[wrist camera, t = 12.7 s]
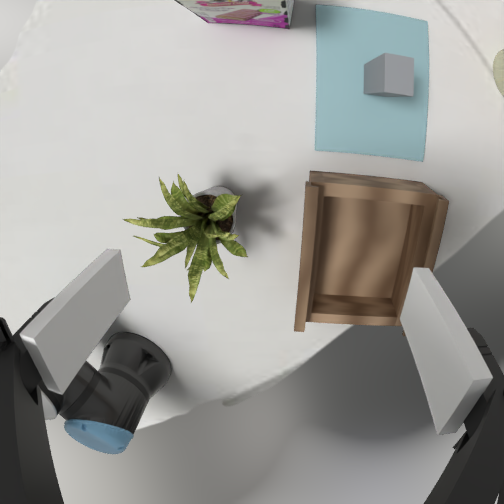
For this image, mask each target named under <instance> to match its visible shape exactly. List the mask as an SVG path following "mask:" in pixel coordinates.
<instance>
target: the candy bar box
mask: <svg viewBox="0 0 504 504" xmlns="http://www.w3.org/2000/svg"><path fill="white" fill-rule="evenodd" d="M175 1H177V2H178V3H179V4H181V5H182V6H184V7H186V8H187V9H189V10H190V11H191V12H193V13H195V14H196V15H197V16H199V17H200V18H202V19H203V20H204V21H206V22H207V23H236V24H250V25H261V26H270V27H279V28H287V29H289V27H290V22H291V16H292V11H293V5H294V0H175Z"/></svg>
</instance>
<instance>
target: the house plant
mask: <svg viewBox="0 0 504 504" xmlns="http://www.w3.org/2000/svg"><path fill="white" fill-rule="evenodd" d="M159 181H160V185H161V190H162V193H163V195H164V198H165V200H166V202H167V204H168V205H169V206H170V208H171V209H172V210H173V211H174V212H175V213H176V214H177V215H180V217H175V216H163V217H160V218H158V219H145V218H139V219H140V220H136V219H123V220H125V221H127V222H129V223H132V224H135V225H138V226H143V227H150V228H160V229H164V230H168V229H173V228H178V227H184V229H185V231H181V232H175V233H156V234H154V236H155V238H156V239H157V241H159V242H161V243H167V244H160V243H157V242H153V241H150V240H147V239H144V238H141V237H137V236H134V237H137V238H139V239H142V240H144V241H146V242H148V243H150V244H153V245H156V246H159V247H160V248H159V249H158V251H157V252H156V253H155V255H154V256H153V257H151V258H150V259H149V260H147V261H146V262H145V264H144V265H143V266H141V267H147V266H152V265H155V264H157V263H160V262H162V261H164V260H166V259H168V258H170V257H171V256H173V255H175V254H177V253H179V252H181V251H183V250H184V249H185V248H186V247H187V255H186V259H185V268H186V267H187V264H188V262H189V260H190V258H191V256H192V254H193V252H194V249H195V247H196V245H197V248H196V251H195V254H194V256H193V259H192V262H191V266H190V267H189V268H188V269H187V270H189V273H188V279H189V285H190V287H189V296H190V298H191V302H192V301H193V299H194V296H195V293H196V291H197V287H198V284H199V281H200V277H201V274H202V271H203V269H204V272H205V271H206V270H207V269H209V268H210V266H211V262H212V261H213V263H214V265H215V267H216V268H217V270H218V271H219V272H220V273H221V274H222V275H223V276H225V277H226V278H228V275H227V273H226V272H225V270H224V267H223V263H222V261H221V259H220V257H219V254H218V251H217V244H219V243H222V244H223V245H224V246H225V247H226V249H227V250H228V251H229V252H231V253H232V254H233V255H236V256H241V257H248V256H247V254H246V250H245V249H244V248H243V246H241V245H240V244H239V243H238V242H236V241H234V239H235V238H236V237H238V236H239V235H236V234H232V233H233V231H234V228H235V224H236V211H237V202H238V200H239V198H240V196H241V195H240V196H238V195H237V196H238V197H237V196H235V195H234V194H233V193H232V192H231V191H230V190H229V189H227V188H225V187H220V186H216V187H212V188H209V189H207V190H204V191H202V192H199V193H197V194H195V195H192V194H191V193H190V192H189V190H188V188H187V185H186V183H185V182H184V183H183V181H182V179H181V177H180V176H179V174H178V182H179V187H180V189H181V190H180V189H179V188H178V187H177V186H176V185H175V184H174V181H173V185H172V188H171V194H170V193H169V192H168V190H167V188H166V186H165V184H164V183H163V182H162V181H161V179H160V178H159ZM181 191H182V192H181ZM182 193H183V194H182ZM171 195H172V196H171ZM242 195H243V194H242ZM184 196H185V197H186V199H187V200H186V199H185V197H184ZM137 218H138V217H137ZM228 279H229V278H228Z"/></svg>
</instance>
